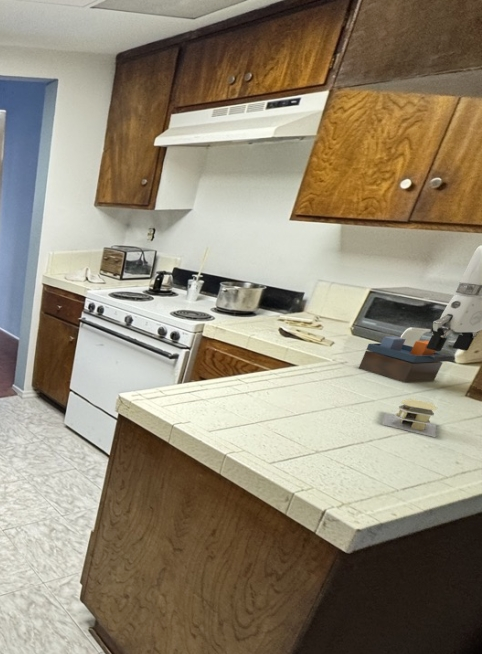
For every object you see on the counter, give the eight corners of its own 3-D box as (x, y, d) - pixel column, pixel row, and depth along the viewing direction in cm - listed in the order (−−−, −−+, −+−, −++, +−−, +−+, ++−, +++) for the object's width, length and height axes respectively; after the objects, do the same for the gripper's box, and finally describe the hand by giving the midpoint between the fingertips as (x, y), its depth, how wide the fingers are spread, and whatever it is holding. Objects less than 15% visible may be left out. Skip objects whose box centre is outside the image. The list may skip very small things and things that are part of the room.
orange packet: (432, 357, 143) (438, 343, 142) (420, 358, 143) (427, 343, 141) (420, 354, 146) (427, 340, 144) (409, 355, 145) (415, 341, 144)
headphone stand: (397, 361, 162) (412, 327, 157) (391, 357, 167) (405, 324, 162) (415, 363, 160) (431, 329, 155) (408, 359, 165) (424, 326, 160)
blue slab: (459, 365, 138) (463, 356, 137) (428, 366, 137) (432, 357, 136) (394, 348, 154) (397, 340, 153) (366, 349, 152) (369, 341, 151)
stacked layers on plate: (385, 413, 120) (394, 393, 118) (435, 425, 114) (446, 404, 112) (381, 424, 114) (391, 403, 112) (435, 437, 108) (446, 416, 106)
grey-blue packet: (399, 352, 148) (405, 338, 146) (388, 353, 147) (394, 339, 145) (389, 349, 150) (395, 336, 149) (377, 350, 150) (383, 336, 148)
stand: (433, 380, 144) (442, 362, 142) (404, 382, 142) (412, 363, 140) (386, 366, 156) (393, 349, 154) (358, 368, 154) (365, 350, 152)
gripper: (468, 293, 125) (438, 354, 132) (518, 293, 128) (486, 352, 134) (435, 288, 132) (407, 346, 139) (483, 288, 135) (454, 345, 141)
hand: (446, 349), depth 137 cm, fingers open, 9 cm apart
